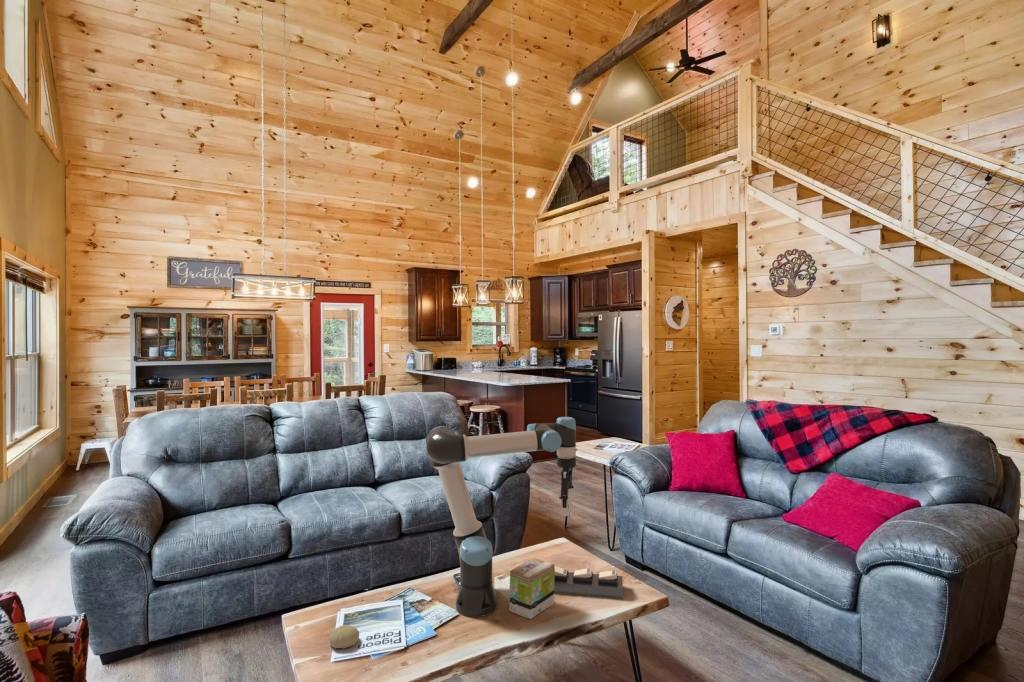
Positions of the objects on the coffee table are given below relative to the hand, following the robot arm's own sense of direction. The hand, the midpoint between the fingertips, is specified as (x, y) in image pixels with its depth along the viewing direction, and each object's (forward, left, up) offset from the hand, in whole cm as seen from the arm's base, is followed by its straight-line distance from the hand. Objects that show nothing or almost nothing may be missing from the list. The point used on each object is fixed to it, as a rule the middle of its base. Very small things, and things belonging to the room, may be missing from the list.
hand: (566, 510), depth 216 cm
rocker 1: (-3, -6, -23) cm, 23 cm away
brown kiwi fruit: (-66, -56, -29) cm, 91 cm away
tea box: (-10, -23, -29) cm, 38 cm away
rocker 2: (+7, -6, -23) cm, 24 cm away
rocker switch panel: (+7, -6, -29) cm, 30 cm away
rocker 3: (+16, -6, -23) cm, 28 cm away
